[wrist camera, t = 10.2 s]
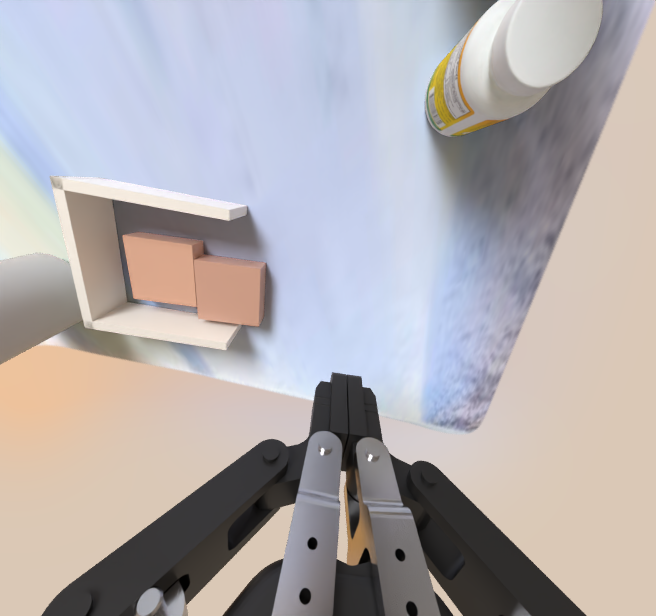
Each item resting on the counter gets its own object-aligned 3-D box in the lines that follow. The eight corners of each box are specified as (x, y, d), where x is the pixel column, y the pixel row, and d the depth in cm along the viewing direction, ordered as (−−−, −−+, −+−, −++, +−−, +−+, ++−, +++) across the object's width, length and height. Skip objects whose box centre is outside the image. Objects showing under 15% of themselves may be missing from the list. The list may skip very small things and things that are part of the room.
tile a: (141, 230, 25) (122, 235, 23) (204, 240, 26) (191, 245, 23) (150, 289, 28) (133, 298, 26) (207, 297, 28) (196, 306, 26)
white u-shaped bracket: (99, 177, 23) (49, 175, 19) (247, 205, 24) (229, 209, 20) (120, 307, 28) (84, 327, 24) (241, 327, 29) (226, 350, 25)
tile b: (205, 253, 26) (193, 259, 24) (266, 261, 26) (260, 268, 24) (208, 308, 29) (198, 318, 26) (264, 315, 29) (258, 326, 27)
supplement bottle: (410, 121, 21) (465, 75, 12) (447, 36, 19) (544, -91, 10) (469, 149, 22) (559, 125, 13) (510, 71, 20) (652, -20, 11)
